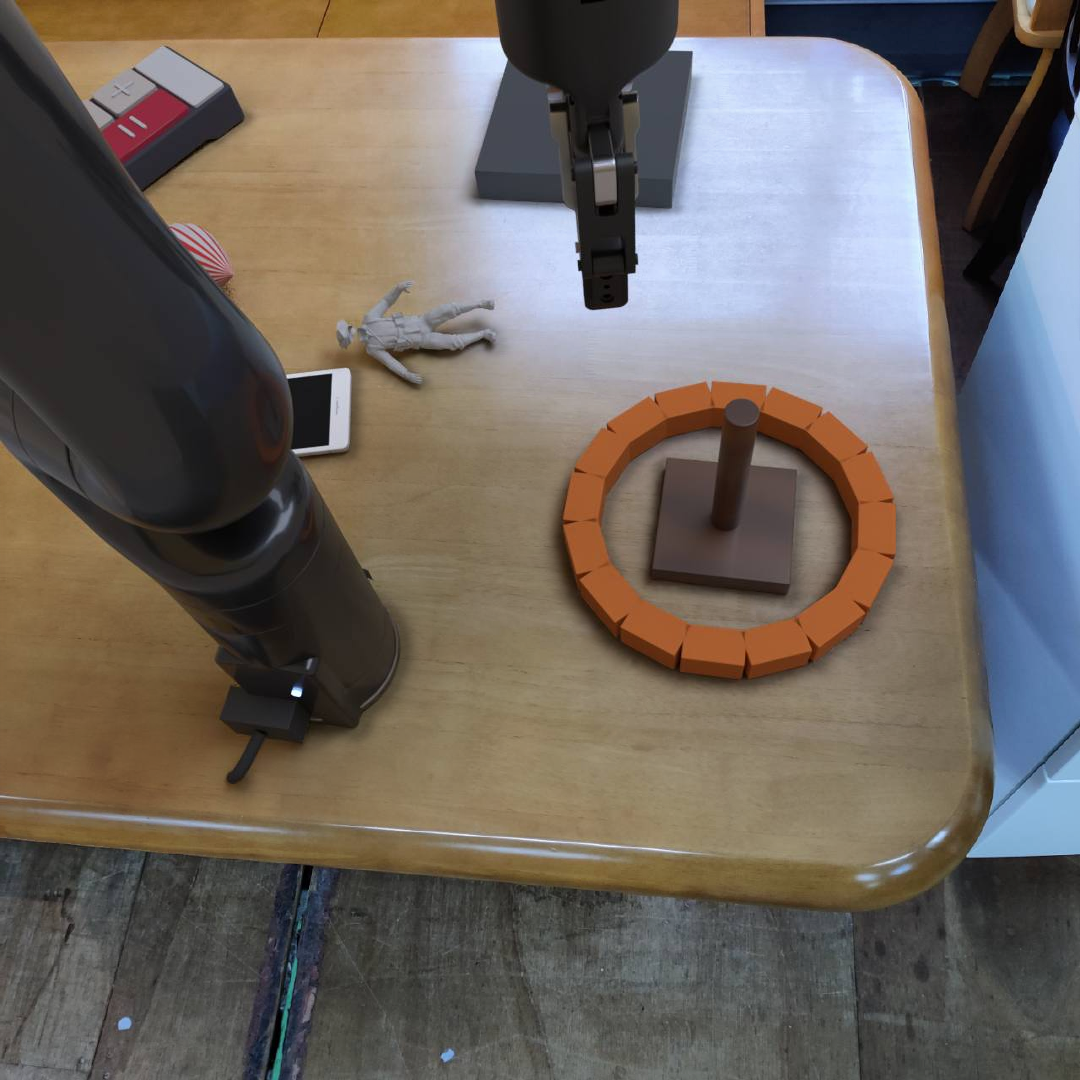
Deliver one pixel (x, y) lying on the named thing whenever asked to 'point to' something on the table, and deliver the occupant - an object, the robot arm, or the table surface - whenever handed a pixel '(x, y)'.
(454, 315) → the soldier figure
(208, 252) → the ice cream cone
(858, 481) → the ring
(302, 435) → the cell phone
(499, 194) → the stand
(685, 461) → the post
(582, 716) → the table surface
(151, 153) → the grey and red box
